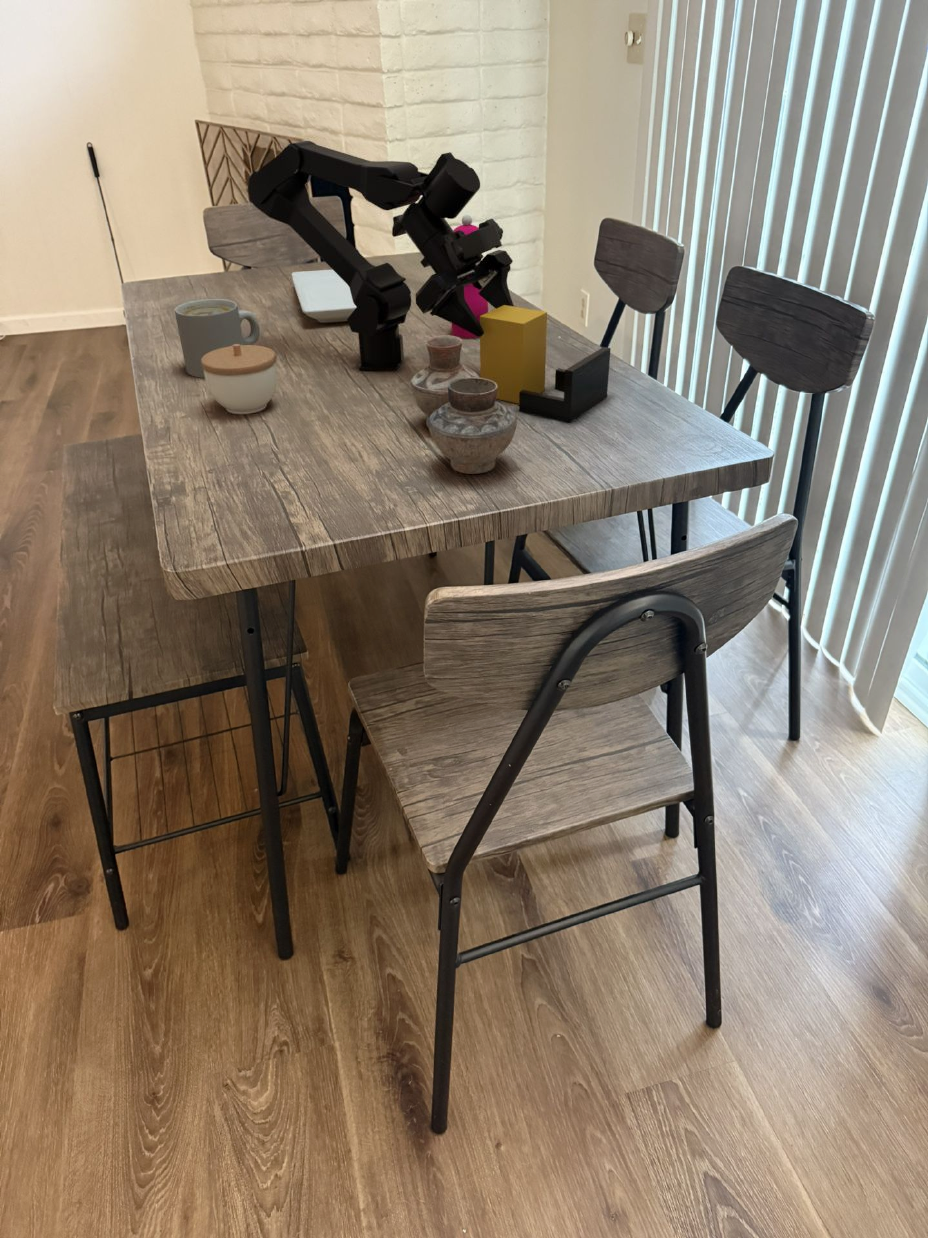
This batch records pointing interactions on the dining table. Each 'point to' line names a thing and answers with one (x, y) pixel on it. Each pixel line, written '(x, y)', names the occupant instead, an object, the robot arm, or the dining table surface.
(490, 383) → the pottery
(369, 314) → the robot arm
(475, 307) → the pepper mill
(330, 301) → the tray
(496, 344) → the storage box
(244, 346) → the trinket box
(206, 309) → the coffee mug
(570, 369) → the rack
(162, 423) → the dining table surface
